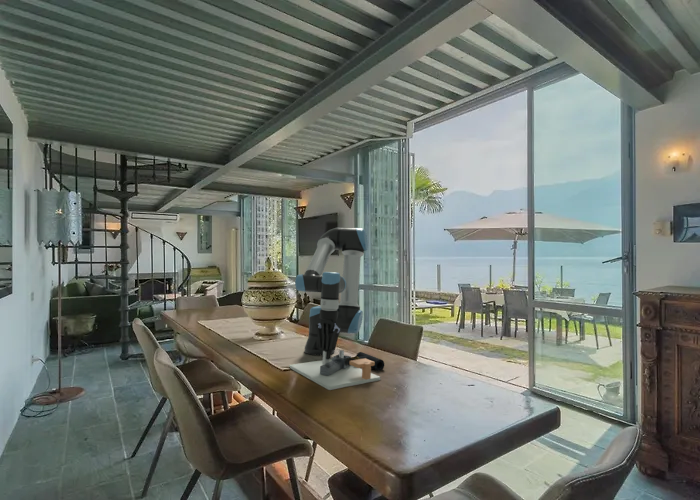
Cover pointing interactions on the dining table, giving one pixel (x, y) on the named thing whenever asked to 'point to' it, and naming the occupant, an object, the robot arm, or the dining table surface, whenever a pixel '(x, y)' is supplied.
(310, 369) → the board
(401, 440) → the dining table surface
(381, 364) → the pipe connector
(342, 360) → the link
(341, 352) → the cylinder
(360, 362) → the keeper
